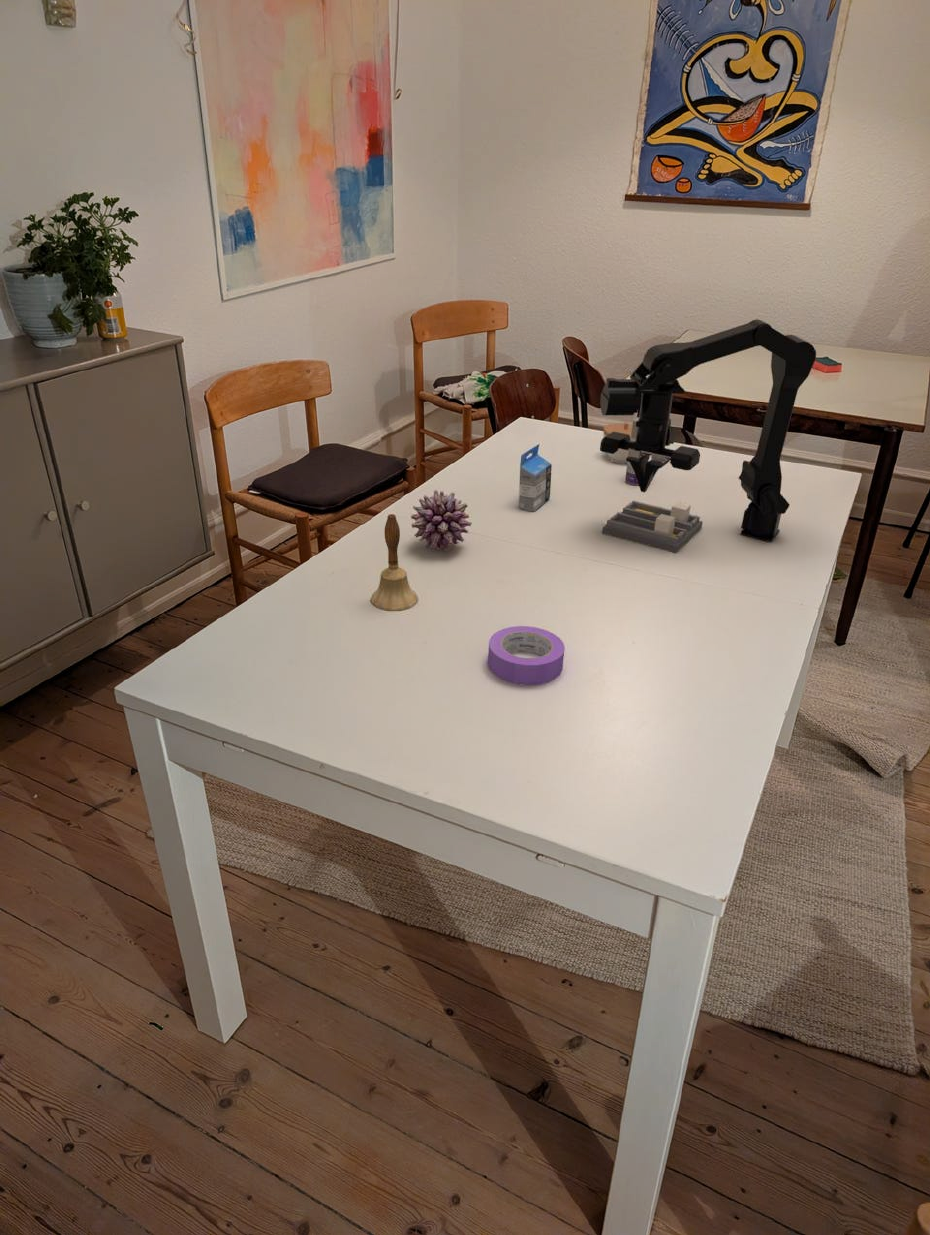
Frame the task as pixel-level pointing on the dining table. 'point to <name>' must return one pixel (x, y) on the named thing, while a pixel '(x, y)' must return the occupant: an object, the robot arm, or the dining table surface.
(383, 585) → the hand bell
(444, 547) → the flower
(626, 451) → the lidded jar
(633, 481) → the container
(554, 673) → the masking tape
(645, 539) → the switch bank
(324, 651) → the dining table surface
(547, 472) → the label tape box
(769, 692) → the dining table surface
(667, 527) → the tab
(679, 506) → the beige rectangular block
